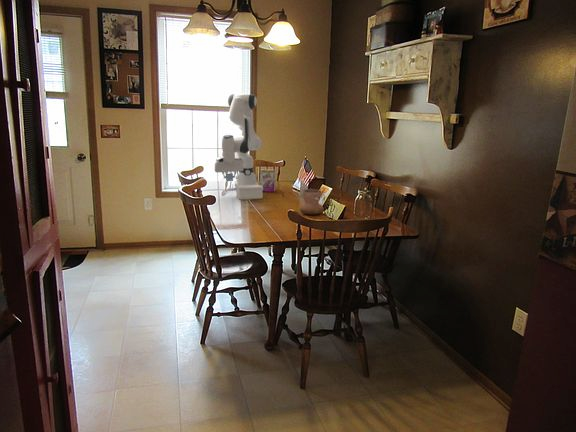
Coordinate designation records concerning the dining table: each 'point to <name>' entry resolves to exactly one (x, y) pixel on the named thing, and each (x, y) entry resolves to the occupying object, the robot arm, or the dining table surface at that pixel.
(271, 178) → the candy bar box
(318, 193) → the ceramic jug
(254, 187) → the lid
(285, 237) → the dining table surface
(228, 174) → the blue tapered cylinder
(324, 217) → the dining table surface
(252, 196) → the carton
